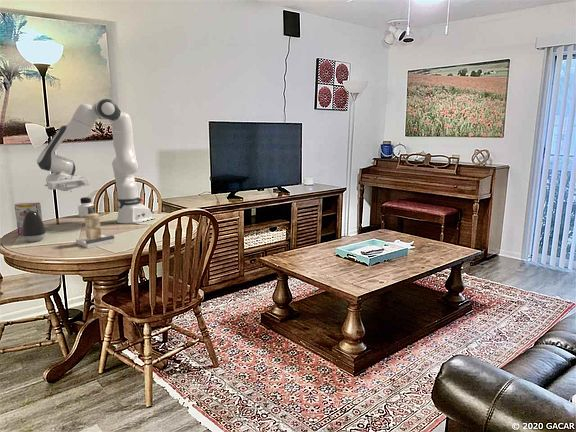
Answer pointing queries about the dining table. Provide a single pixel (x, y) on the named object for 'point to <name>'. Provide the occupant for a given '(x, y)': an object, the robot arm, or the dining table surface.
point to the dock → (95, 241)
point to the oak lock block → (92, 226)
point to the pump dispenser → (33, 227)
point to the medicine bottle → (86, 207)
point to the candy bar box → (25, 207)
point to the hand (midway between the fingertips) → (74, 184)
